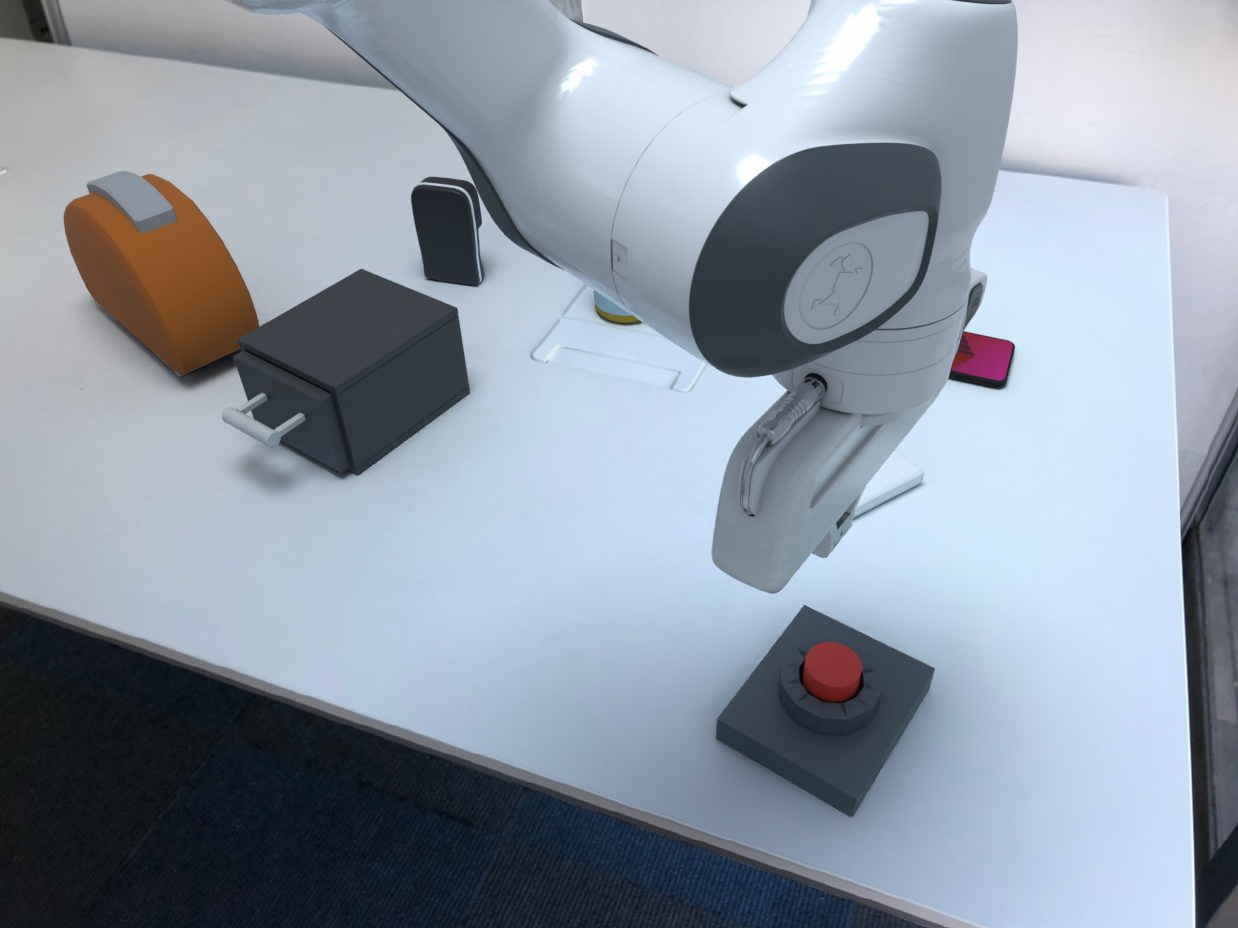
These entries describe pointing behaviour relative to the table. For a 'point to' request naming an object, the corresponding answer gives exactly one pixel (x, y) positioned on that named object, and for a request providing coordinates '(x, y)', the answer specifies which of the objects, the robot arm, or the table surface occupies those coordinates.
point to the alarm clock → (159, 269)
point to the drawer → (288, 412)
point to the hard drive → (889, 482)
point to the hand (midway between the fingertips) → (825, 539)
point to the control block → (825, 712)
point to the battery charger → (448, 229)
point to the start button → (832, 672)
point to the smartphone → (982, 360)
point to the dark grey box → (371, 358)
